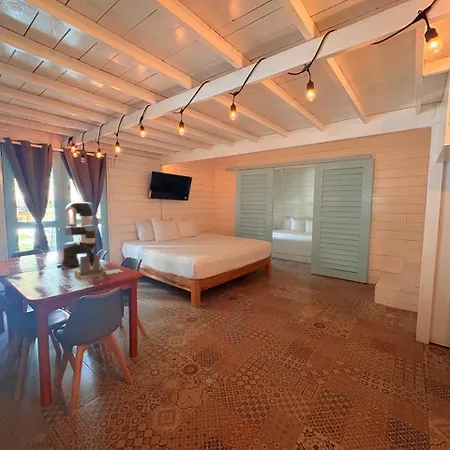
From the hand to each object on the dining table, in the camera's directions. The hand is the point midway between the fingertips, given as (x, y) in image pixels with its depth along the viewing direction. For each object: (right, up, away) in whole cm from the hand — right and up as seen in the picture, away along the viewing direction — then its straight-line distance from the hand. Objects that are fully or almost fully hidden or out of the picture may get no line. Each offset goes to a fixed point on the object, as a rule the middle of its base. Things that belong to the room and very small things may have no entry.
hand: (90, 268), depth 211 cm
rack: (0, -6, 0) cm, 6 cm away
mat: (+13, -6, +14) cm, 20 cm away
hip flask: (0, -6, 0) cm, 6 cm away
